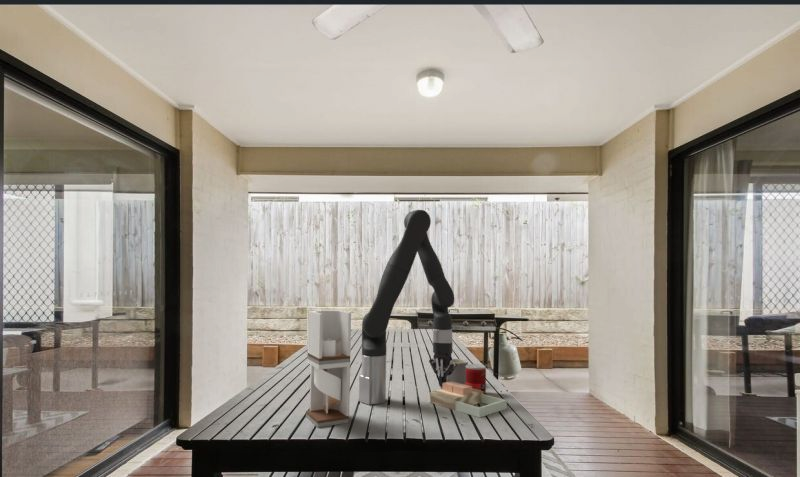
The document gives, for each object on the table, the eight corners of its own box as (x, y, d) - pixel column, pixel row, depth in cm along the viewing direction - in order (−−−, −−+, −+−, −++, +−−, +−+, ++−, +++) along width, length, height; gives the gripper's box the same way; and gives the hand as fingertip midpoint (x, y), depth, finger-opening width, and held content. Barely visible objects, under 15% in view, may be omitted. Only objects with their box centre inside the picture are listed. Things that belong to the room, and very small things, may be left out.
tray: (479, 417, 155) (479, 408, 156) (455, 410, 163) (455, 401, 164) (506, 408, 166) (506, 400, 166) (482, 402, 174) (482, 393, 174)
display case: (306, 417, 154) (308, 311, 156) (336, 412, 159) (338, 310, 161) (317, 427, 144) (320, 314, 146) (349, 422, 149) (351, 312, 151)
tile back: (452, 392, 172) (452, 385, 172) (442, 389, 175) (442, 383, 176) (461, 390, 175) (461, 383, 175) (451, 387, 179) (451, 381, 179)
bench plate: (454, 410, 163) (454, 398, 164) (430, 402, 172) (430, 391, 172) (482, 401, 174) (482, 391, 174) (458, 395, 183) (458, 384, 183)
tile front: (463, 395, 168) (463, 388, 168) (452, 392, 171) (452, 385, 172) (472, 393, 171) (472, 386, 171) (461, 390, 175) (461, 383, 175)
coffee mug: (463, 381, 206) (463, 358, 207) (470, 387, 196) (470, 363, 197) (434, 382, 204) (434, 359, 204) (440, 388, 194) (440, 363, 194)
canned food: (485, 397, 181) (485, 368, 182) (465, 395, 182) (465, 367, 183) (486, 392, 188) (486, 364, 189) (466, 390, 190) (466, 363, 191)
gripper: (423, 339, 182) (423, 384, 181) (449, 343, 173) (449, 391, 172) (436, 337, 188) (436, 381, 186) (462, 341, 178) (462, 387, 177)
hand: (442, 386), depth 179 cm, fingers closed
